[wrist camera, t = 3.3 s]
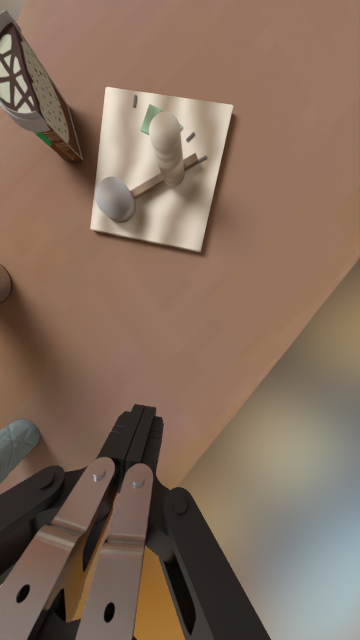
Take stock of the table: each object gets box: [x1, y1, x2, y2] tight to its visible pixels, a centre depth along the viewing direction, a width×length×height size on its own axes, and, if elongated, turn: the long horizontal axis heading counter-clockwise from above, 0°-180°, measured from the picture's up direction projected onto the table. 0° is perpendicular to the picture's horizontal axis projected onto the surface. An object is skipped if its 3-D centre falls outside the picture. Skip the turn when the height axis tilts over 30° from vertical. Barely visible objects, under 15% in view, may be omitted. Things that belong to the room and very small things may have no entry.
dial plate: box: [91, 87, 233, 252], centre depth 31 cm, size 22×23×1 cm
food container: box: [0, 10, 83, 162], centre depth 27 cm, size 12×6×10 cm, turn 13°
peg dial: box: [95, 111, 198, 223], centre depth 26 cm, size 18×6×8 cm, turn 114°
